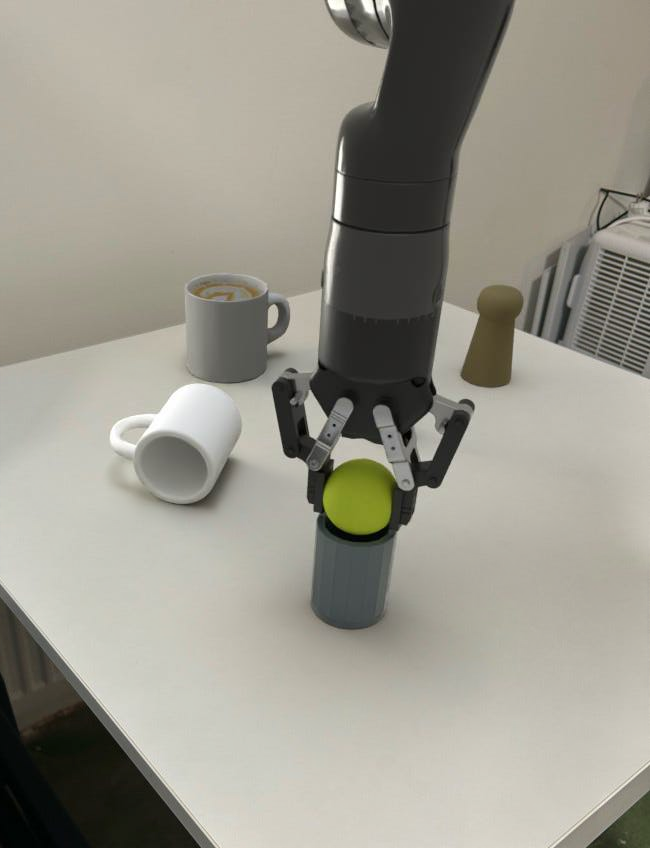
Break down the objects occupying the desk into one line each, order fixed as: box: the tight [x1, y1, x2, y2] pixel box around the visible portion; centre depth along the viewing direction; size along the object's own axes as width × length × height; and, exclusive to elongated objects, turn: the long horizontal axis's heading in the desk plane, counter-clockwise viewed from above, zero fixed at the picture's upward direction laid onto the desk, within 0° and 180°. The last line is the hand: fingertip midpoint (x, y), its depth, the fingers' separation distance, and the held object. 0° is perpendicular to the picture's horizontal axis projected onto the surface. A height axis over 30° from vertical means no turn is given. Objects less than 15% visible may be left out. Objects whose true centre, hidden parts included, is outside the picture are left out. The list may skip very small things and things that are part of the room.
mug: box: [109, 382, 243, 505], centre depth 80 cm, size 12×10×8 cm
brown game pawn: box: [460, 284, 524, 388], centre depth 98 cm, size 6×6×11 cm
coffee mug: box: [184, 272, 291, 384], centre depth 101 cm, size 13×10×10 cm
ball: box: [323, 458, 397, 535], centre depth 60 cm, size 6×6×6 cm
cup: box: [310, 511, 398, 630], centre depth 64 cm, size 6×6×8 cm
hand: (358, 515), depth 61 cm, fingers closed on ball, 5 cm apart
